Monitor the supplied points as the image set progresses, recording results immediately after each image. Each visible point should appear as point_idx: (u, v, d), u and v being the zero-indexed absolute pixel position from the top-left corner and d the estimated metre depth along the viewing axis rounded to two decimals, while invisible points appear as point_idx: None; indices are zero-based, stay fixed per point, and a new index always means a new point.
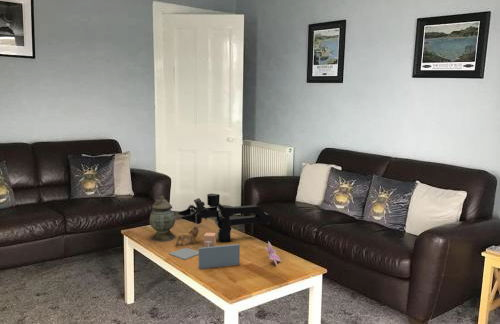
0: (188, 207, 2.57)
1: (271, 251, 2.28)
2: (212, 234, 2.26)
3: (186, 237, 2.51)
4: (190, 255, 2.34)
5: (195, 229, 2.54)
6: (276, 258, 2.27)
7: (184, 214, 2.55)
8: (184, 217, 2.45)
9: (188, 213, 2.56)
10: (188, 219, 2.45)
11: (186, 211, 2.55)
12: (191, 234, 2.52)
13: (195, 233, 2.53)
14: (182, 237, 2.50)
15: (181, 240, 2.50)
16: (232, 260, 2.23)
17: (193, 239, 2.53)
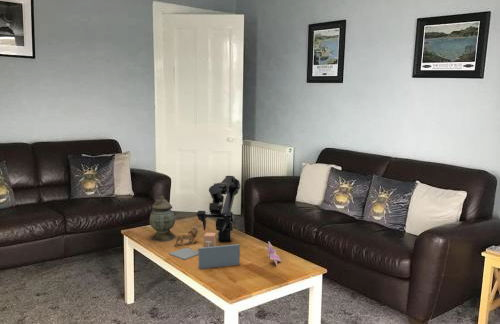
0: (201, 217, 2.36)
1: (271, 251, 2.28)
2: (212, 234, 2.26)
3: (185, 237, 2.51)
4: (190, 255, 2.34)
5: (194, 229, 2.54)
6: (276, 258, 2.27)
7: (205, 225, 2.37)
8: (223, 228, 2.34)
9: (205, 220, 2.38)
10: (225, 225, 2.36)
11: (205, 221, 2.37)
12: (190, 234, 2.52)
13: (194, 233, 2.53)
14: (181, 237, 2.50)
15: (180, 240, 2.50)
16: (232, 260, 2.23)
17: (192, 239, 2.53)
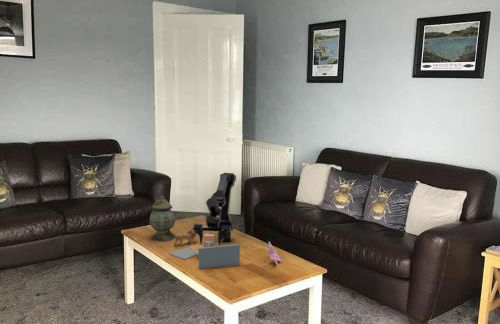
0: (198, 230, 2.30)
1: (272, 251, 2.28)
2: (212, 234, 2.26)
3: (185, 237, 2.51)
4: (190, 255, 2.34)
5: (193, 229, 2.54)
6: (277, 258, 2.27)
7: (202, 238, 2.31)
8: (220, 242, 2.27)
9: (202, 234, 2.32)
10: (222, 239, 2.29)
11: (201, 235, 2.30)
12: (189, 234, 2.52)
13: (193, 233, 2.53)
14: (181, 237, 2.49)
15: (180, 240, 2.50)
16: (232, 260, 2.23)
17: (191, 239, 2.53)
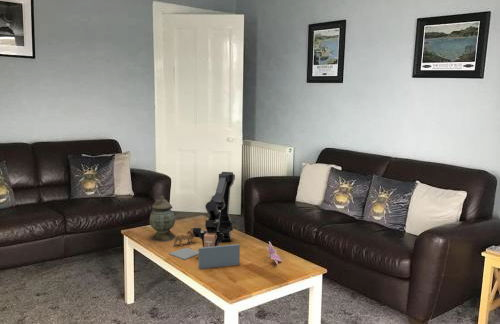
0: (201, 234, 2.28)
1: (272, 251, 2.28)
2: (212, 234, 2.26)
3: (184, 237, 2.51)
4: (190, 255, 2.34)
5: None
6: (277, 258, 2.27)
7: None
8: None
9: None
10: (218, 243, 2.28)
11: None
12: (189, 234, 2.52)
13: None
14: (180, 237, 2.49)
15: (179, 240, 2.50)
16: (232, 260, 2.23)
17: (191, 239, 2.53)
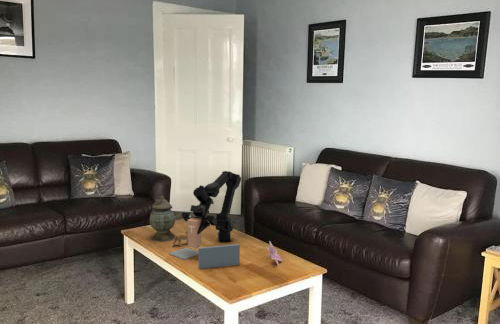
0: (188, 219, 2.33)
1: (272, 251, 2.28)
2: (196, 219, 2.29)
3: (183, 237, 2.50)
4: (190, 255, 2.34)
5: None
6: (277, 258, 2.27)
7: None
8: (199, 231, 2.29)
9: None
10: (203, 229, 2.30)
11: None
12: None
13: None
14: (179, 238, 2.49)
15: (178, 241, 2.49)
16: (232, 260, 2.23)
17: None
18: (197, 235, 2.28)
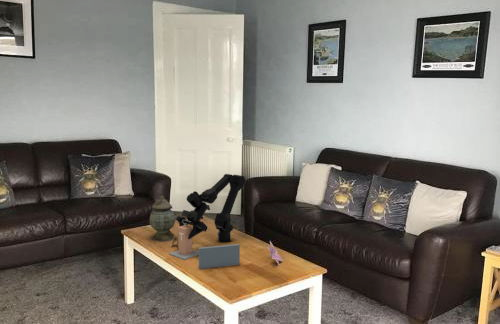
0: (179, 222, 2.40)
1: (273, 251, 2.28)
2: (186, 227, 2.35)
3: None
4: (190, 255, 2.34)
5: None
6: (278, 258, 2.27)
7: None
8: (190, 236, 2.33)
9: None
10: (194, 234, 2.34)
11: None
12: None
13: None
14: None
15: (177, 241, 2.49)
16: (232, 260, 2.23)
17: None
18: (186, 242, 2.34)
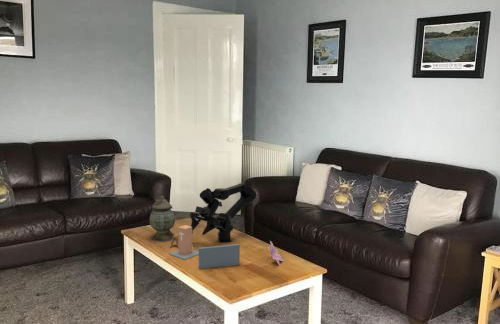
0: (191, 218, 2.48)
1: (273, 251, 2.28)
2: (186, 227, 2.35)
3: None
4: (190, 255, 2.34)
5: None
6: (278, 258, 2.27)
7: (194, 226, 2.48)
8: (204, 232, 2.40)
9: (196, 222, 2.49)
10: (208, 230, 2.41)
11: (194, 223, 2.47)
12: None
13: None
14: (177, 238, 2.48)
15: (176, 241, 2.48)
16: (232, 260, 2.23)
17: None
18: (186, 242, 2.34)
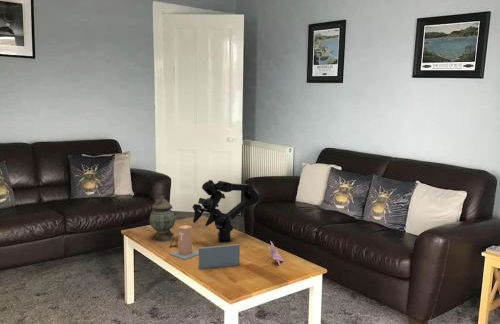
0: (194, 210, 2.49)
1: (273, 251, 2.29)
2: (186, 227, 2.35)
3: None
4: (190, 255, 2.34)
5: None
6: (279, 258, 2.28)
7: (197, 218, 2.49)
8: (207, 223, 2.42)
9: (199, 214, 2.50)
10: (211, 221, 2.43)
11: (197, 214, 2.49)
12: None
13: None
14: (176, 238, 2.48)
15: (175, 241, 2.48)
16: (232, 260, 2.23)
17: None
18: (186, 242, 2.34)
